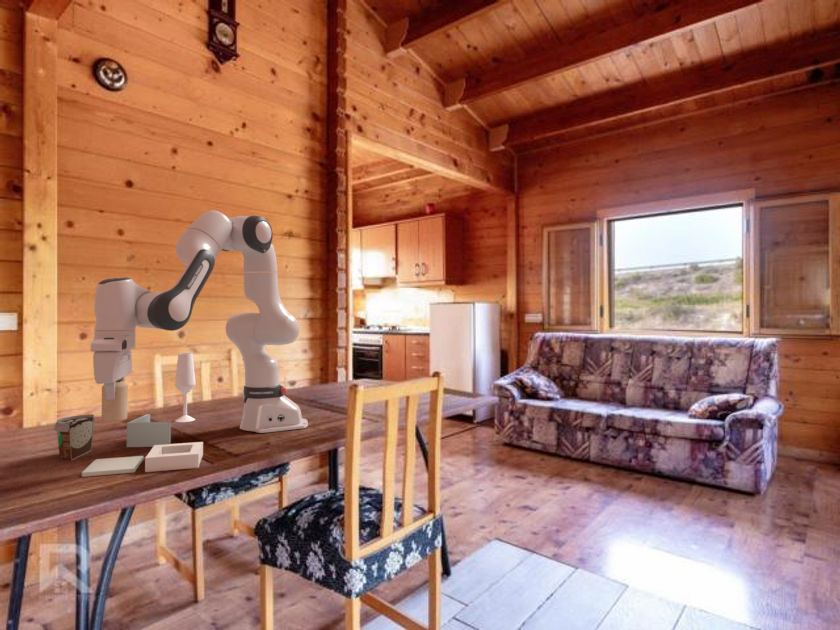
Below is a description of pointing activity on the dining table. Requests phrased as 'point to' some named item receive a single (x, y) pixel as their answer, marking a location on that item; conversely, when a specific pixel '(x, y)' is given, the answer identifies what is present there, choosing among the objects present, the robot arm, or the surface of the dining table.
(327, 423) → the dining table surface
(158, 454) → the pocket block
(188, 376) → the champagne flute
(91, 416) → the food container
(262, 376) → the robot arm
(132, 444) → the l-shaped corner panel
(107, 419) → the candle
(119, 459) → the cream tile
